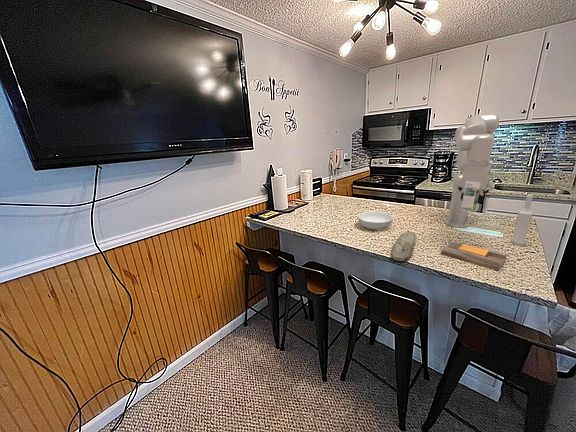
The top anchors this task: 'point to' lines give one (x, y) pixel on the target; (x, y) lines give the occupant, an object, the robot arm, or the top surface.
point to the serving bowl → (375, 219)
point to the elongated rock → (403, 246)
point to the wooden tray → (475, 256)
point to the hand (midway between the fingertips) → (471, 201)
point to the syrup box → (471, 196)
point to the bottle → (522, 223)
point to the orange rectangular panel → (474, 250)
